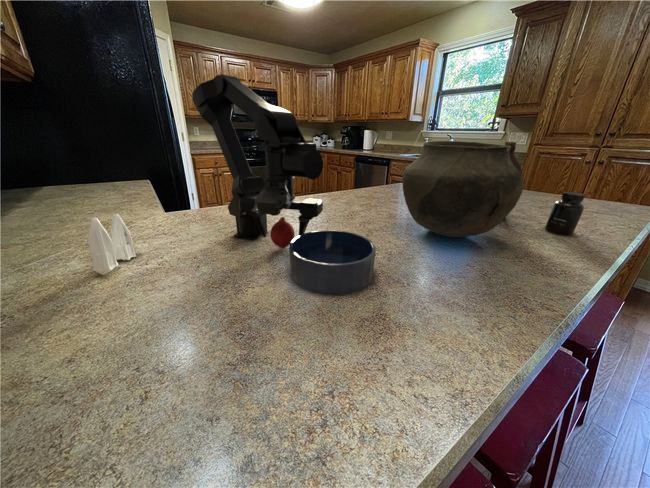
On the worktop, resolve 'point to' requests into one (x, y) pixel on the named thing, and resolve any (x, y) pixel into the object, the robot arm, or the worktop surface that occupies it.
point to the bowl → (331, 261)
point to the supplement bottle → (565, 214)
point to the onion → (282, 233)
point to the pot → (461, 187)
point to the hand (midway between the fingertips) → (282, 238)
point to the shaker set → (109, 244)
